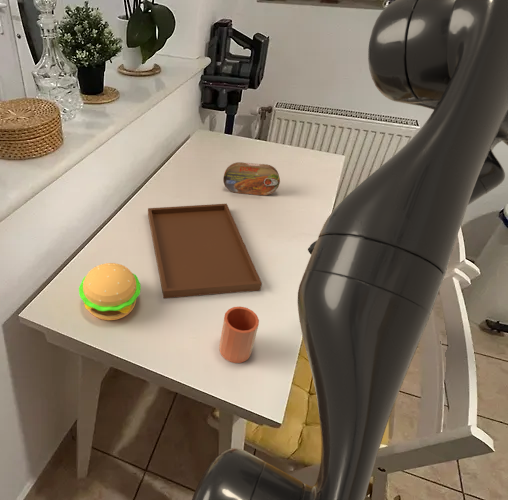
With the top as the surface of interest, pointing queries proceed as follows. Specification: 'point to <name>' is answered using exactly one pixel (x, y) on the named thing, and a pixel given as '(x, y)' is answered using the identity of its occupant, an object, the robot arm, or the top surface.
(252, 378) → the top surface
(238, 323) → the reddish brown cup
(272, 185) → the tin
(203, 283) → the tray
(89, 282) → the hamburger
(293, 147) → the top surface
